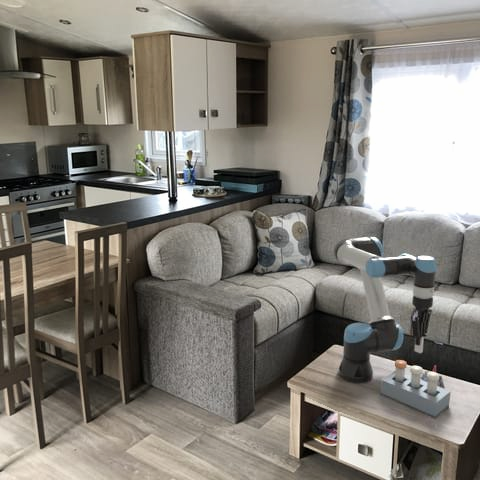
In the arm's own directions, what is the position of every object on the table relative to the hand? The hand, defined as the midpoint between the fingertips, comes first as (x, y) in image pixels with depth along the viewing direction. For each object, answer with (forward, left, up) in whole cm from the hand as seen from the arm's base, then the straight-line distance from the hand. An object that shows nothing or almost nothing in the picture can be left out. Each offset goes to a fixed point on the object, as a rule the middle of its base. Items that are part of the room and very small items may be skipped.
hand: (418, 351), depth 201 cm
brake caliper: (0, +14, -23) cm, 27 cm away
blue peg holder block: (0, 0, -22) cm, 22 cm away
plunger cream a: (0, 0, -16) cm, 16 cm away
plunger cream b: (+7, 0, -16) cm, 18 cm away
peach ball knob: (-7, 0, -16) cm, 18 cm away
